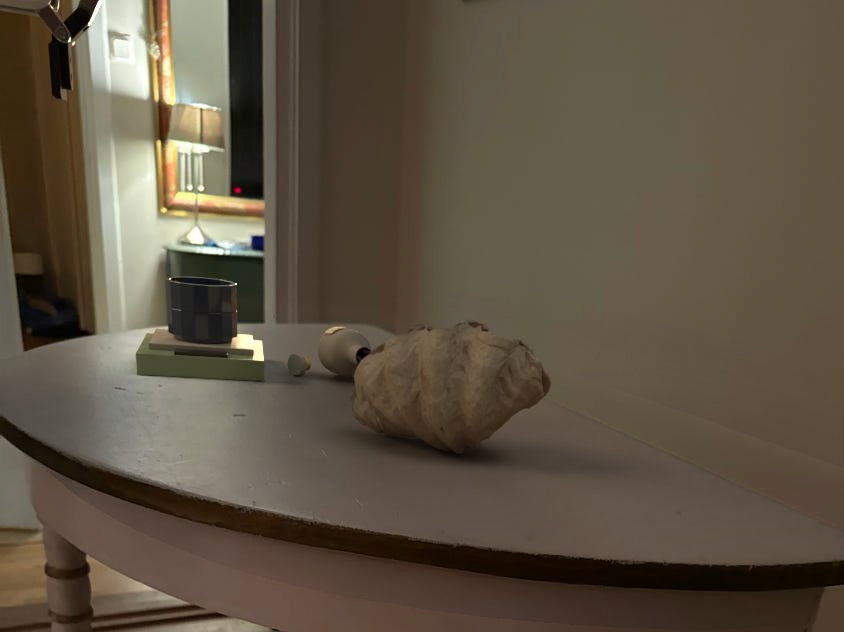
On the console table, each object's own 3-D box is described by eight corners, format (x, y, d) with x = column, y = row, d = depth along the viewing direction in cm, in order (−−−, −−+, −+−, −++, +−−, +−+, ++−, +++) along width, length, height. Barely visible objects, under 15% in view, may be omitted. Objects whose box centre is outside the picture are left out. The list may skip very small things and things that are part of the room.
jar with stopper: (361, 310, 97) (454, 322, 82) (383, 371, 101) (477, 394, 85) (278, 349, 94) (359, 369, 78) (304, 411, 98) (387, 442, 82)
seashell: (469, 478, 68) (482, 339, 63) (337, 431, 76) (341, 306, 71) (551, 459, 75) (569, 333, 70) (423, 418, 83) (431, 304, 79)
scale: (137, 374, 88) (135, 346, 87) (147, 352, 98) (146, 327, 97) (264, 381, 91) (264, 354, 90) (261, 359, 101) (261, 334, 100)
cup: (166, 342, 90) (163, 282, 88) (171, 331, 96) (168, 274, 94) (237, 346, 92) (236, 287, 90) (237, 335, 98) (236, 280, 95)
